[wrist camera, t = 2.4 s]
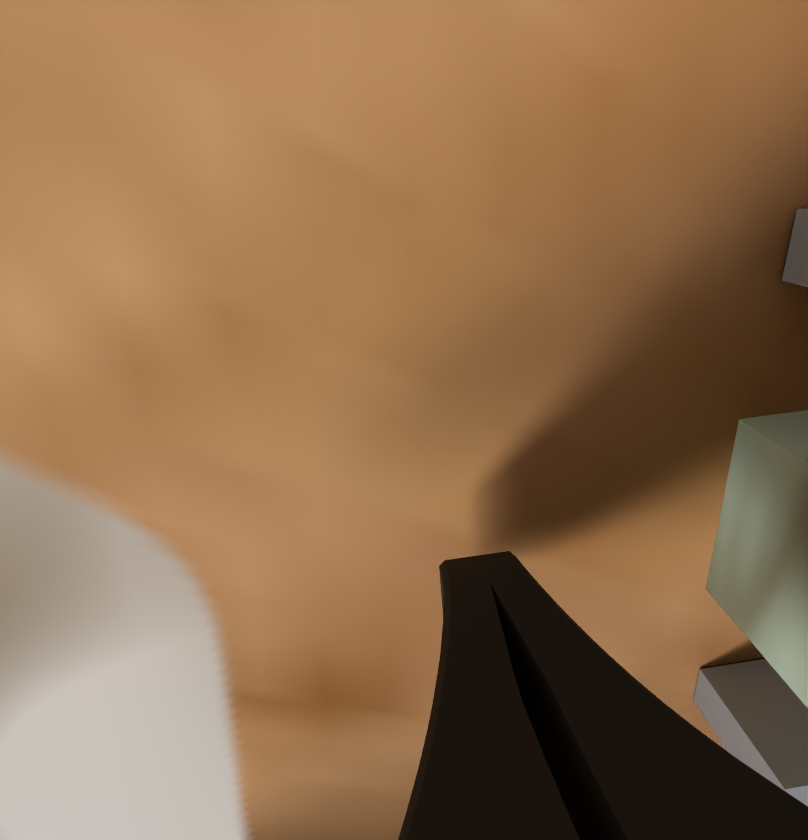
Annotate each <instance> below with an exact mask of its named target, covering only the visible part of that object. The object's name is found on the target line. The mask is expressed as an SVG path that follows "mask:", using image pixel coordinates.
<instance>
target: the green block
mask: <svg viewBox="0 0 808 840" xmlns="http://www.w3.org/2000/svg"><path fill="white" fill-rule="evenodd" d="M706 590H707V591H708V592H709V593H710V594H711V596H712V597H713V598H714V599H715V600H716V601H717V603H718V604H719V605H720V606H721V607H722V608H723V610H724V611H725V612H726V613H727V614H728V615H729V617H730V618H731V619H732V620H733V621H734V622H735V624H736V625H737V626H738V627H739V628H740V630H741V631H742V632H743V633H744V634H745V635H746V637H747V638H748V639H749V640H750V641H751V642H752V644H753V645H754V646H755V647H756V648H757V649H758V651H759V652H760V653H761V654H762V655H763V657H764V658H765V659H766V660H767V661H768V662H769V664H770V665H771V666H772V667H773V668H774V669H775V671H776V672H777V673H778V674H779V675H780V676H781V678H782V679H783V680H784V681H785V682H786V683H787V685H788V686H789V687H790V688H791V689H792V691H793V692H794V693H795V694H796V695H797V696H798V698H799V699H800V700H801V701H802V702H803V703H804V705H805V706H806V707H807V708H808V410H803V411H796V412H788V413H781V414H774V415H766V416H759V417H751V418H744V419H739V422H738V427H737V432H736V437H735V442H734V447H733V452H732V457H731V462H730V468H729V473H728V478H727V483H726V488H725V493H724V498H723V503H722V508H721V513H720V518H719V524H718V529H717V534H716V539H715V544H714V549H713V554H712V559H711V564H710V569H709V574H708V579H707V585H706Z"/></svg>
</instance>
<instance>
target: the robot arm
mask: <svg viewBox="0 0 808 840" xmlns="http://www.w3.org/2000/svg"><path fill="white" fill-rule="evenodd" d="M439 569H440V581H441V594H442V606H443V630H442V642H441V653H440V661H439V668H438V674H437V681H436V687H435V693H434V699H433V705H432V710H431V715H430V720H429V725H428V730H427V734H426V739H425V743H424V747H423V752H422V756H421V760H420V764H419V768H418V772H417V776H416V779H415V783H414V787H413V790H412V794H411V798H410V801H409V805H408V809H407V812H406V816H405V819H404V822H403V826H402V829H401V833H400V836H399V839H398V840H808V806H806V805H805V804H803V803H802V802H800V801H799V800H797V799H796V798H794V797H793V796H792V795H790V794H789V793H787V792H786V791H784V790H783V789H781V788H780V787H778V786H777V785H775V784H774V783H772V782H771V781H769V780H768V779H766V778H765V777H764V776H762V775H761V774H759V773H758V772H756V771H755V770H753V769H752V768H750V767H749V766H747V765H746V764H744V763H743V762H741V761H740V760H739V759H737V758H736V757H734V756H733V755H731V754H730V753H729V752H727V751H726V750H724V749H723V748H722V747H720V746H719V745H718V744H716V743H715V742H714V741H712V740H711V739H710V738H708V737H707V736H706V735H704V734H703V733H702V732H700V731H699V730H698V729H696V728H695V727H694V726H692V725H691V724H690V723H689V722H687V721H686V720H685V719H684V718H682V717H681V716H680V715H678V714H677V713H676V712H675V711H673V710H672V709H671V708H670V707H668V706H667V705H666V704H665V703H663V702H662V701H661V700H660V699H659V698H657V697H656V696H655V695H654V694H653V693H651V692H650V691H649V690H648V689H647V688H645V687H644V686H643V685H642V684H641V683H640V682H638V681H637V680H636V679H635V678H634V677H633V676H632V675H630V674H629V673H628V672H627V671H626V670H625V669H624V668H623V667H622V666H620V665H619V664H618V663H617V662H616V661H615V660H614V659H613V658H612V657H610V656H609V655H608V654H607V653H606V652H605V651H604V650H603V649H602V648H601V647H600V646H599V645H598V644H597V643H596V642H595V641H593V640H592V639H591V638H590V637H589V636H588V635H587V634H586V633H585V632H584V631H583V630H582V629H581V628H580V627H579V626H578V625H577V624H576V623H575V622H574V621H573V620H572V619H571V618H570V617H569V616H568V615H567V614H566V613H565V611H564V610H563V609H562V608H561V607H560V606H559V605H558V604H557V603H556V602H555V601H554V600H553V599H552V598H551V597H550V595H549V594H548V593H547V592H546V591H545V590H544V589H543V588H542V587H541V586H540V585H539V583H538V582H537V581H536V580H535V579H534V578H533V577H532V575H531V574H530V573H529V572H528V571H527V570H526V568H525V567H524V566H523V565H522V564H521V562H520V561H519V560H518V559H517V558H516V556H515V555H513V554H512V553H511V552H509V551H507V552H500V553H493V554H486V555H479V556H472V557H465V558H458V559H451V560H445V561H444V562H443V563H442V564H441V565H440V566H439Z"/></svg>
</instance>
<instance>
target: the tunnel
mask: <svg viewBox="0 0 808 840" xmlns="http://www.w3.org/2000/svg"><path fill="white" fill-rule="evenodd" d="M782 281H785V282H789V283H793V284H797V285H800V286H804V287H808V208H802V209H797V211H796V216H795V220H794V225H793V230H792V235H791V239H790V244H789V249H788V254H787V258H786V263H785V268H784V273H783V277H782ZM694 702H695V703H696V705H697V706H698V708H699V709H700V711H701V712H702V714H703V715H704V717H705V719H706V720H707V722H708V723H709V725H710V726H711V728H712V729H713V731H714V732H715V734H716V735H717V737H718V738H719V740H720V741H721V743H722V745H723V746H724V748H725V749H726V751H727V752H729V753H730V754H731V755H733V756H734V757H736V758H737V759H739V760H740V761H741V762H743V763H744V764H746V765H747V766H749V767H750V768H752V769H753V770H755V771H756V772H758V773H759V774H761V775H762V776H764V777H765V778H766V779H768V780H769V781H771V782H772V783H774V784H775V785H777V786H778V787H780V788H781V789H783V790H784V791H786V792H787V793H789V794H790V795H792V796H793V797H794V798H796V799H797V800H799V801H800V802H802V803H803V804H805V805H806V806H808V708H807V707H806V706H805V705H804V703H803V702H802V701H801V700H800V699H799V698H798V696H797V695H796V694H795V693H794V692H793V691H792V689H791V688H790V687H789V686H788V685H787V683H786V682H785V681H784V680H783V679H782V678H781V676H780V675H779V674H778V673H777V672H776V671H775V669H774V668H773V667H772V666H771V665H770V664H769V662H768V661H767V660H766V659H761V660H754V661H748V662H742V663H735V664H729V665H723V666H716V667H710V668H704V669H700V671H699V676H698V681H697V686H696V690H695V695H694Z"/></svg>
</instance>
